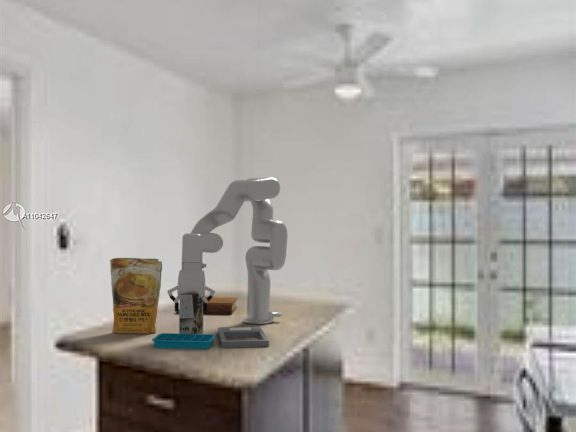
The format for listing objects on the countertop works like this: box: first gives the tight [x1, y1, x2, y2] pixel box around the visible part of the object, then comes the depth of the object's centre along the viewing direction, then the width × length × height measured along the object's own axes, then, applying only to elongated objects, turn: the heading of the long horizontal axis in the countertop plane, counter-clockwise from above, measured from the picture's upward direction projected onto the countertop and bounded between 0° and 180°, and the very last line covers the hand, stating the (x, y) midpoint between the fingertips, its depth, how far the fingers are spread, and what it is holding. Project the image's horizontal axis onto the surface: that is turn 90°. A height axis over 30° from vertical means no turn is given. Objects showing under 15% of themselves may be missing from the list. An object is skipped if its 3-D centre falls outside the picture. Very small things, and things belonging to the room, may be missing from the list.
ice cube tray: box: [151, 332, 217, 350], centre depth 201 cm, size 12×20×3 cm, turn 87°
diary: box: [204, 295, 238, 315], centre depth 270 cm, size 23×19×6 cm
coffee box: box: [178, 293, 204, 334], centre depth 215 cm, size 9×6×16 cm
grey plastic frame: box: [217, 326, 270, 349], centre depth 211 cm, size 16×24×2 cm, turn 10°
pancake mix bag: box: [109, 257, 163, 335], centre depth 221 cm, size 7×19×28 cm, turn 91°
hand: (190, 313), depth 215 cm, fingers open, 9 cm apart
